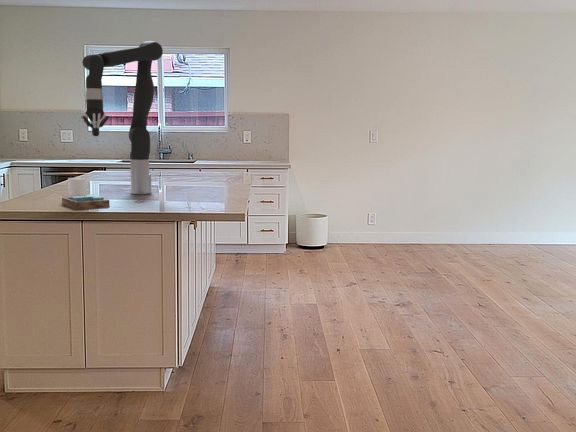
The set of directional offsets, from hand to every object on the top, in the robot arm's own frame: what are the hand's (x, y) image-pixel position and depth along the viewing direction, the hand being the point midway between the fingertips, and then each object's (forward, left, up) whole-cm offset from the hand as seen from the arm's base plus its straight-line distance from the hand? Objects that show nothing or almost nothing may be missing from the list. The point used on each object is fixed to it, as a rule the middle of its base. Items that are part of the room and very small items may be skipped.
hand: (95, 136), depth 288 cm
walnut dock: (+14, +23, -29) cm, 39 cm away
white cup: (+11, +4, -29) cm, 31 cm away
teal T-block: (+14, +23, -29) cm, 40 cm away
